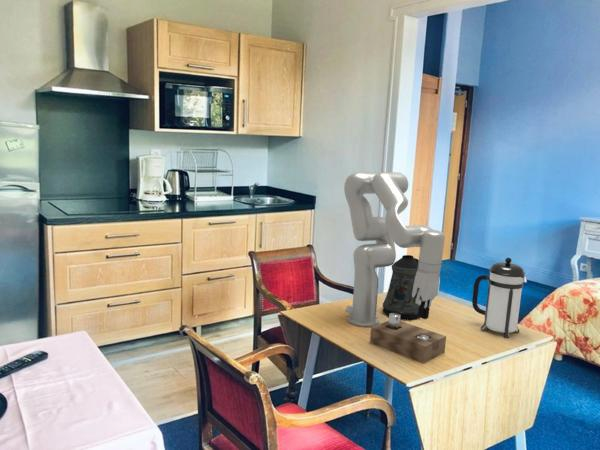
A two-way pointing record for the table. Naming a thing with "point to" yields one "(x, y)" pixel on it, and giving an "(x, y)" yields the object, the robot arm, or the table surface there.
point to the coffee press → (501, 297)
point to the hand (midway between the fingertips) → (422, 317)
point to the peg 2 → (423, 337)
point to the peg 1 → (394, 321)
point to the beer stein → (402, 289)
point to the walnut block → (408, 341)
